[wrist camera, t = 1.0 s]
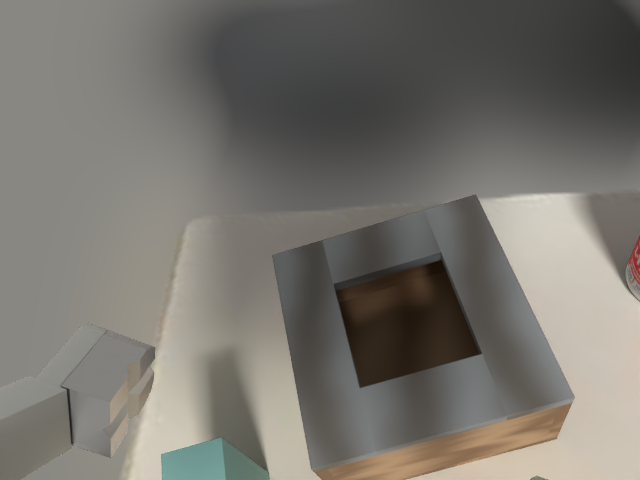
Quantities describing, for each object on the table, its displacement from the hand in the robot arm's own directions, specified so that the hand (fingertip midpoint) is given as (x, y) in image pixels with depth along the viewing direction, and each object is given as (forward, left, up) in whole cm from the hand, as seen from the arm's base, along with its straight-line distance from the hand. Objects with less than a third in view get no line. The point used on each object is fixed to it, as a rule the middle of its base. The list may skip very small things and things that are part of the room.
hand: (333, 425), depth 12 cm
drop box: (-3, -13, -32) cm, 35 cm away
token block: (+12, -6, -32) cm, 35 cm away
